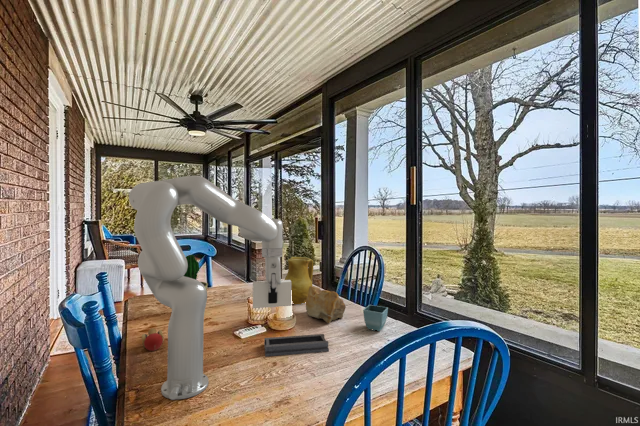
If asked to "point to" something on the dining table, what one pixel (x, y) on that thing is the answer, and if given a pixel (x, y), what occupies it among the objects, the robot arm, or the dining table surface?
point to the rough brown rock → (324, 304)
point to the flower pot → (375, 317)
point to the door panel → (262, 294)
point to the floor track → (295, 345)
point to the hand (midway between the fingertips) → (272, 301)
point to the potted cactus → (193, 269)
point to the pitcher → (300, 278)
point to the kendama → (152, 340)
